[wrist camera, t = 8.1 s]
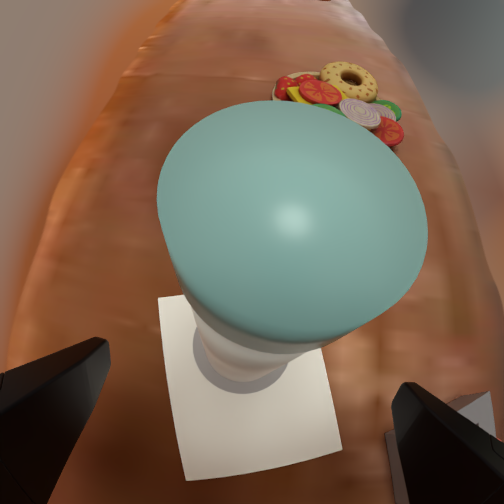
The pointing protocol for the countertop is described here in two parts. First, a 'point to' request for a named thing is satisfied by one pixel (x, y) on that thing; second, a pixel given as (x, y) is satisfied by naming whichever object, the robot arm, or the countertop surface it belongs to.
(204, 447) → the paper
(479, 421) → the button housing
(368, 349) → the countertop surface
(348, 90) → the toy food set
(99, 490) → the countertop surface
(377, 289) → the teal and white bottle
